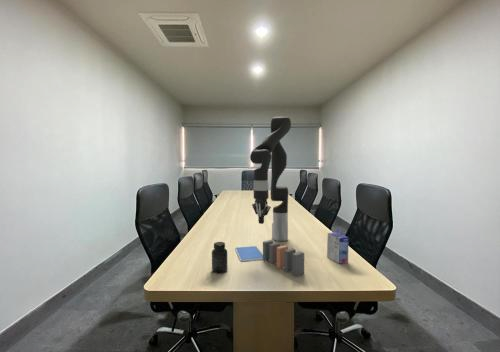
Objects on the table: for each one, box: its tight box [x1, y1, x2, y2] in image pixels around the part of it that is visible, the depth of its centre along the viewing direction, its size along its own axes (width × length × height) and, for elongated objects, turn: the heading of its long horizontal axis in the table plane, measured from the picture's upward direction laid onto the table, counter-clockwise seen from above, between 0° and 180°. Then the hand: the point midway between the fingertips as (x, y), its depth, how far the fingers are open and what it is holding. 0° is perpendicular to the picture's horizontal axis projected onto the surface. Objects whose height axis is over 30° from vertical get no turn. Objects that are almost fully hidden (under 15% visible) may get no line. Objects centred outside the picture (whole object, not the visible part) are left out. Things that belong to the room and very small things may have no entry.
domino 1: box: [262, 239, 274, 262], centre depth 115 cm, size 2×5×9 cm, turn 125°
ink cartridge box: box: [326, 228, 349, 264], centre depth 114 cm, size 10×6×14 cm, turn 15°
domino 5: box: [291, 251, 305, 278], centre depth 99 cm, size 2×5×9 cm, turn 125°
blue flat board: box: [234, 245, 264, 263], centre depth 124 cm, size 19×13×1 cm, turn 12°
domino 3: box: [276, 244, 289, 269], centre depth 107 cm, size 2×5×9 cm, turn 125°
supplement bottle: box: [211, 241, 229, 274], centre depth 104 cm, size 7×7×12 cm
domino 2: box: [268, 241, 281, 266], centre depth 111 cm, size 2×5×9 cm, turn 125°
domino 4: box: [283, 248, 297, 273], centre depth 103 cm, size 2×5×9 cm, turn 125°
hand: (261, 223), depth 120 cm, fingers closed
